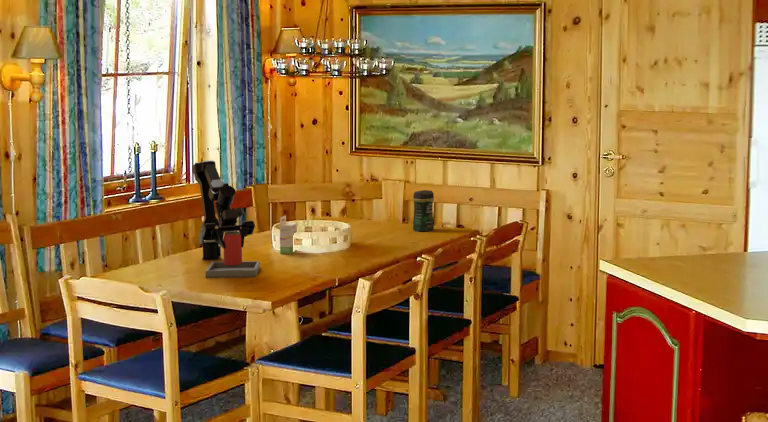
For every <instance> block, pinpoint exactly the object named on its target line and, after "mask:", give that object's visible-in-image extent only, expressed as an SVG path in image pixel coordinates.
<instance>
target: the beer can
mask: <svg viewBox="0 0 768 422" xmlns="http://www.w3.org/2000/svg"><path fill="white" fill-rule="evenodd" d="M223 241H224V244H225V249H223V262H224V264H225V265H226V266H239V265H241V264H242V261H243V247H242V240H241V235H240V232H239V231H231V232H224V236H223Z"/></svg>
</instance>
